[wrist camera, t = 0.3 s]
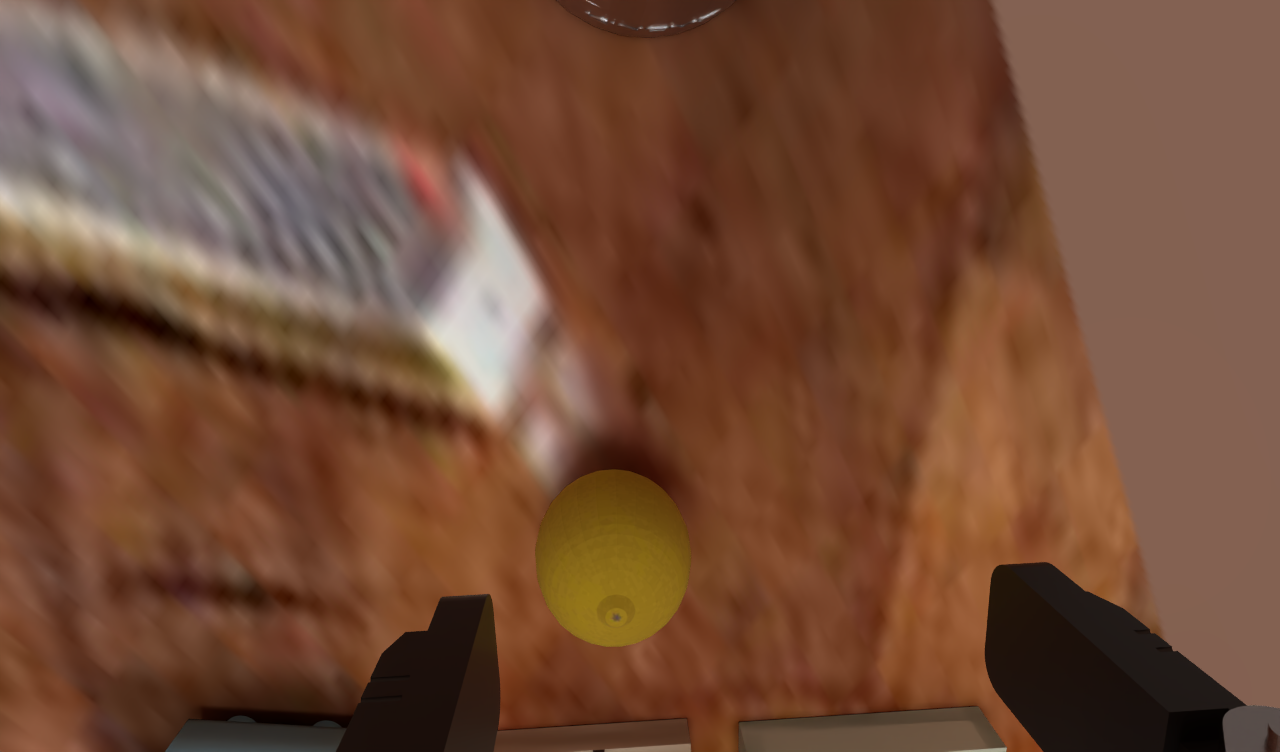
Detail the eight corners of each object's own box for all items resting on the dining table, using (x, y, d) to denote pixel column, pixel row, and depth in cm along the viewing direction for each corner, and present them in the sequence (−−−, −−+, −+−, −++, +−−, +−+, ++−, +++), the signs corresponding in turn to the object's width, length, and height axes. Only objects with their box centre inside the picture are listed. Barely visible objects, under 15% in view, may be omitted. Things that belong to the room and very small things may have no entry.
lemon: (705, 505, 31) (741, 621, 23) (605, 585, 32) (608, 724, 24) (616, 411, 29) (624, 503, 22) (514, 498, 30) (487, 615, 22)
